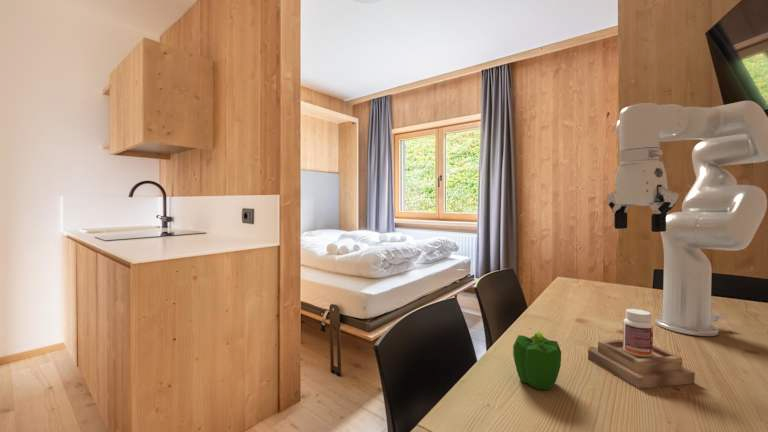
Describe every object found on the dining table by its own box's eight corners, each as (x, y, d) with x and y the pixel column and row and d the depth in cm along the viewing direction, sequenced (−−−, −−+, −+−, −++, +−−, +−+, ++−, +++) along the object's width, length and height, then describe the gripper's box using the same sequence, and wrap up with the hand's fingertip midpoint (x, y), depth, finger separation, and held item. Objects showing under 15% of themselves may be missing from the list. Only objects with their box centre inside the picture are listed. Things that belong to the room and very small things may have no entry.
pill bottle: (658, 359, 64) (659, 316, 64) (630, 356, 65) (631, 314, 65) (644, 348, 69) (644, 308, 68) (618, 346, 70) (619, 307, 69)
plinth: (636, 354, 74) (636, 335, 73) (694, 383, 62) (694, 360, 62) (588, 358, 72) (588, 339, 72) (638, 388, 60) (639, 365, 60)
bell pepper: (516, 367, 68) (516, 319, 68) (561, 378, 64) (562, 326, 63) (508, 386, 61) (509, 333, 60) (559, 400, 56) (560, 342, 56)
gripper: (691, 152, 70) (690, 232, 71) (620, 162, 88) (620, 226, 88) (661, 152, 69) (661, 233, 70) (595, 162, 86) (595, 228, 87)
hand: (638, 229), depth 79 cm, fingers open, 9 cm apart
